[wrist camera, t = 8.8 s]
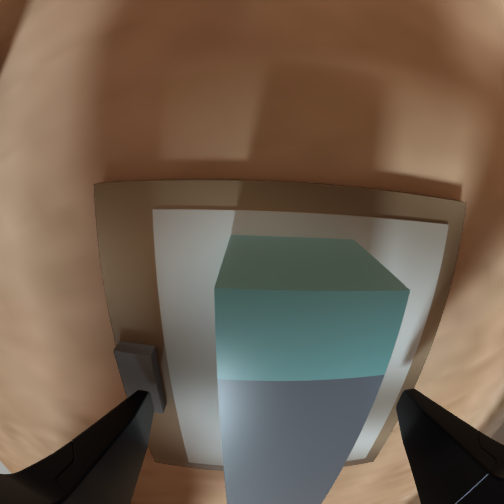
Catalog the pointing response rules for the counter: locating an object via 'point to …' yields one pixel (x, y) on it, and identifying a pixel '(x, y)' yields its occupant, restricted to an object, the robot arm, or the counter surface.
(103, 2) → the counter surface
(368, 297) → the teal-capped grey block
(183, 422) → the clipboard
